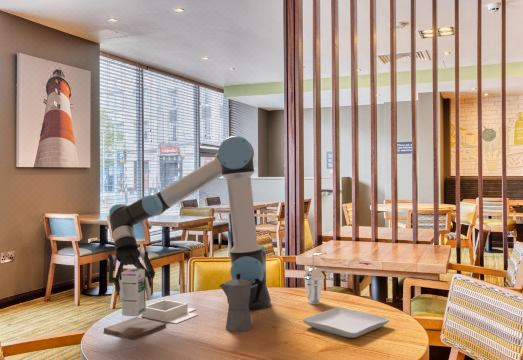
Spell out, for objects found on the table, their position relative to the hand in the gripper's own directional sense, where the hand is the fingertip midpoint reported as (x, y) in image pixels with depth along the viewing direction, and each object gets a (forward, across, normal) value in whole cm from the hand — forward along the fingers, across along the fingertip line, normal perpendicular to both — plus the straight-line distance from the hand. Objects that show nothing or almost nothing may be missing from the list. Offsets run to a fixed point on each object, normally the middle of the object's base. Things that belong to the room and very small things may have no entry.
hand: (136, 297), depth 153 cm
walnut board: (+6, 0, -10) cm, 12 cm away
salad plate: (+29, -62, +13) cm, 70 cm away
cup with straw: (+8, -70, -8) cm, 71 cm away
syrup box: (+2, 0, -7) cm, 7 cm away
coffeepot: (+17, -32, 0) cm, 36 cm away
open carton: (-1, -17, -17) cm, 24 cm away
